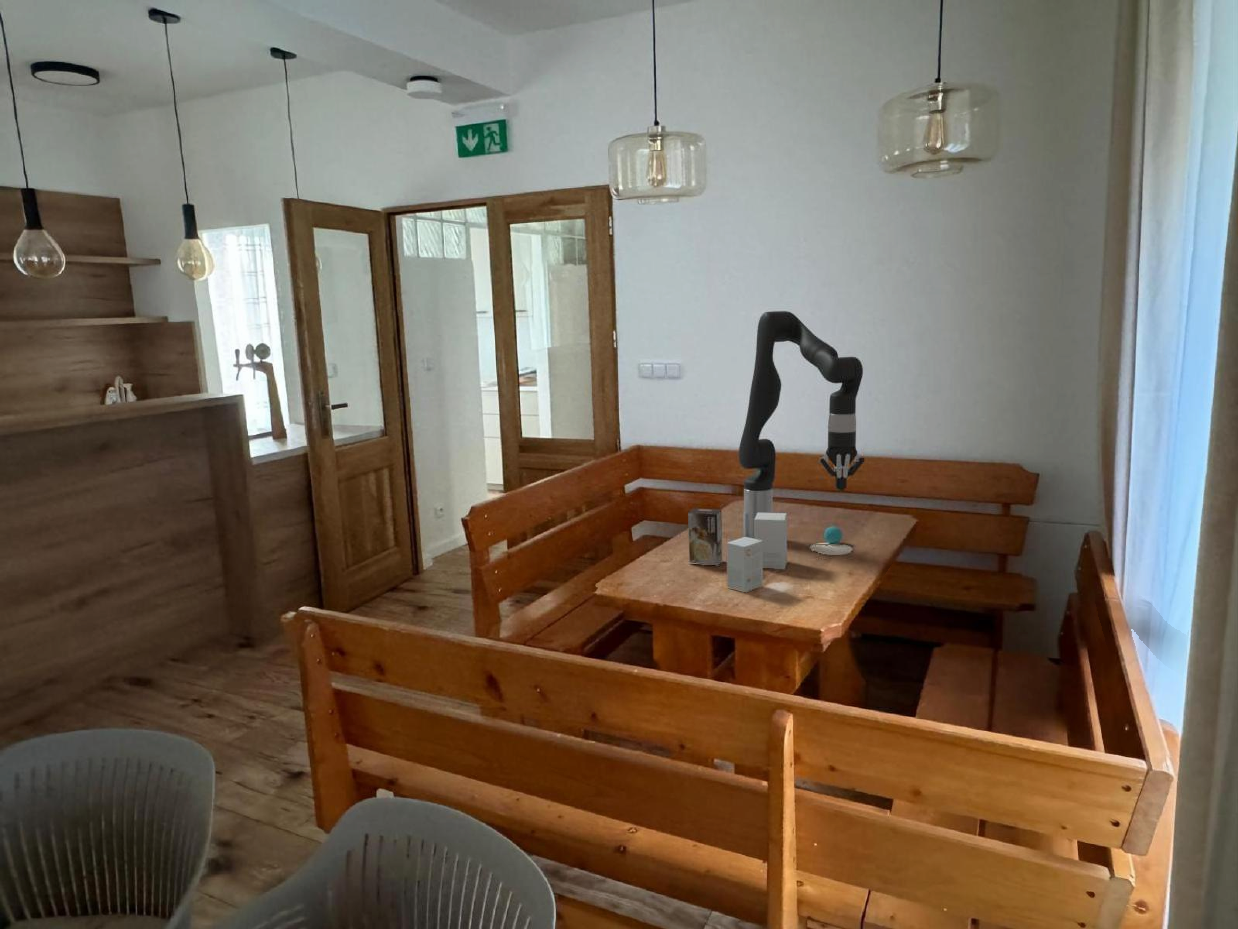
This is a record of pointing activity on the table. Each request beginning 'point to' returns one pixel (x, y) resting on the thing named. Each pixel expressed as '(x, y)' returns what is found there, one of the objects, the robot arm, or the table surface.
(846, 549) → the disc
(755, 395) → the robot arm
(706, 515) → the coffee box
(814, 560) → the table surface
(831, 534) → the ball
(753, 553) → the small box
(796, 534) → the table surface
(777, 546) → the supplement box
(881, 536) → the table surface
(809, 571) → the table surface
